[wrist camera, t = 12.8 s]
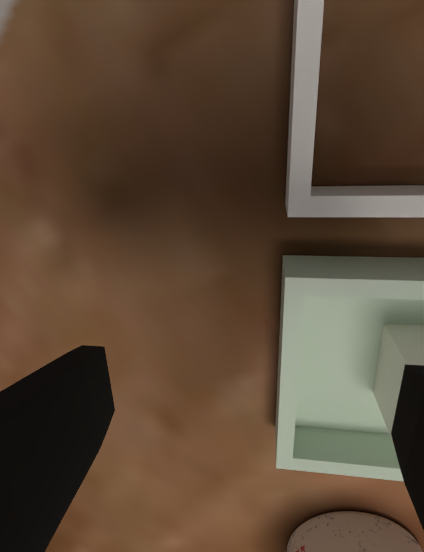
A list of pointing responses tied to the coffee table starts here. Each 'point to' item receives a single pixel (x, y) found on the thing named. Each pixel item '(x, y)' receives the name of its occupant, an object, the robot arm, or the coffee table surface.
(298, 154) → the bin
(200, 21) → the coffee table surface
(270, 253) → the coffee table surface
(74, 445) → the robot arm
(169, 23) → the coffee table surface
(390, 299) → the green bin
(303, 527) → the teacup with lid
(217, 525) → the coffee table surface
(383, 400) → the cream block
